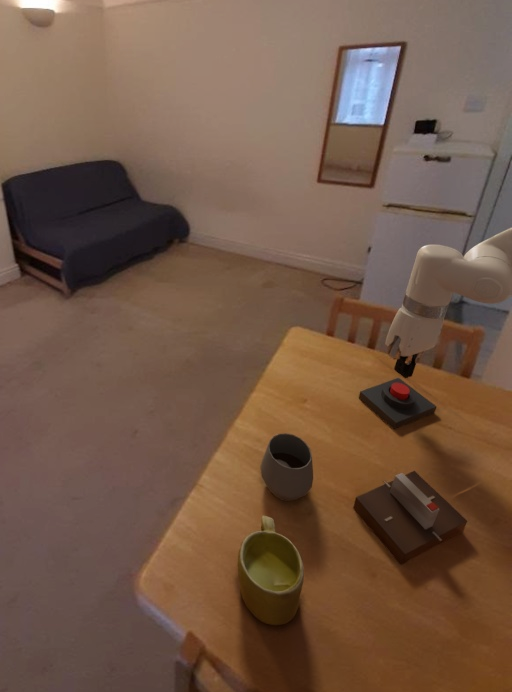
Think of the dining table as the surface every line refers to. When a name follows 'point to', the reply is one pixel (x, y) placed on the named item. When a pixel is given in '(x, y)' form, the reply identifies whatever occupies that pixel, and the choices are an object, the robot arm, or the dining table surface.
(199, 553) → the dining table surface
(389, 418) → the black button base
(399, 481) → the dial knob
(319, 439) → the dining table surface
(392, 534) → the switch base
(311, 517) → the dining table surface
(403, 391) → the timer button
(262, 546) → the mug
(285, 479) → the cup
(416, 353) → the robot arm
